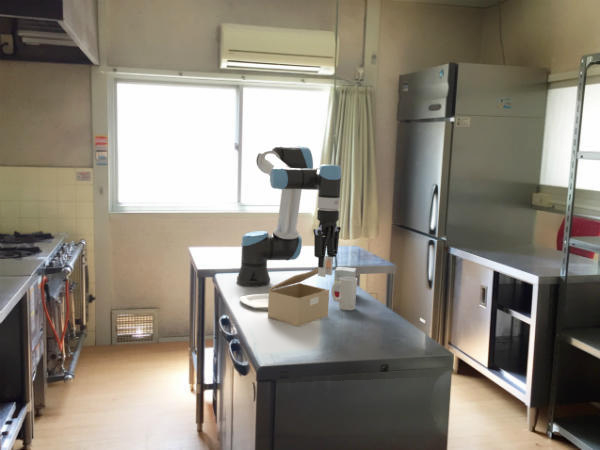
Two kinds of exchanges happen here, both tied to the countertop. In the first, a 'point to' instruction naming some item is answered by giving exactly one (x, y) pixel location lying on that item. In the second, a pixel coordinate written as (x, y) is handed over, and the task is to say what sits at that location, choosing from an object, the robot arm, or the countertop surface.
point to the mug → (346, 293)
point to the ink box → (342, 273)
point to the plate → (256, 301)
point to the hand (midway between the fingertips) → (325, 275)
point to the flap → (300, 277)
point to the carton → (298, 304)
